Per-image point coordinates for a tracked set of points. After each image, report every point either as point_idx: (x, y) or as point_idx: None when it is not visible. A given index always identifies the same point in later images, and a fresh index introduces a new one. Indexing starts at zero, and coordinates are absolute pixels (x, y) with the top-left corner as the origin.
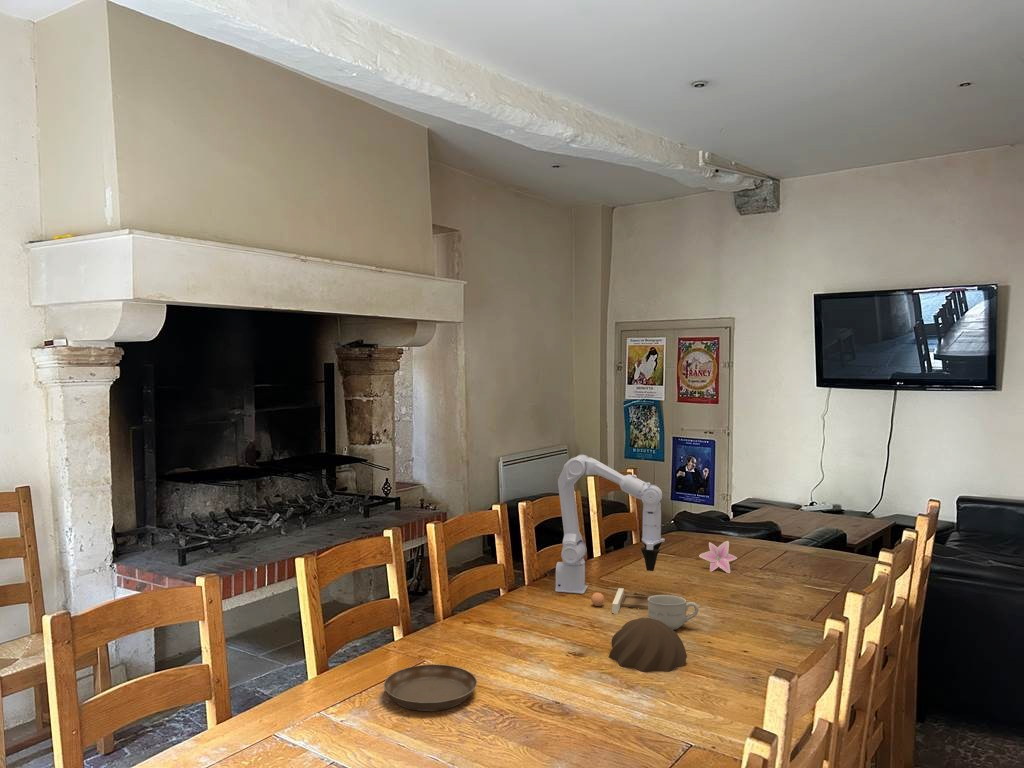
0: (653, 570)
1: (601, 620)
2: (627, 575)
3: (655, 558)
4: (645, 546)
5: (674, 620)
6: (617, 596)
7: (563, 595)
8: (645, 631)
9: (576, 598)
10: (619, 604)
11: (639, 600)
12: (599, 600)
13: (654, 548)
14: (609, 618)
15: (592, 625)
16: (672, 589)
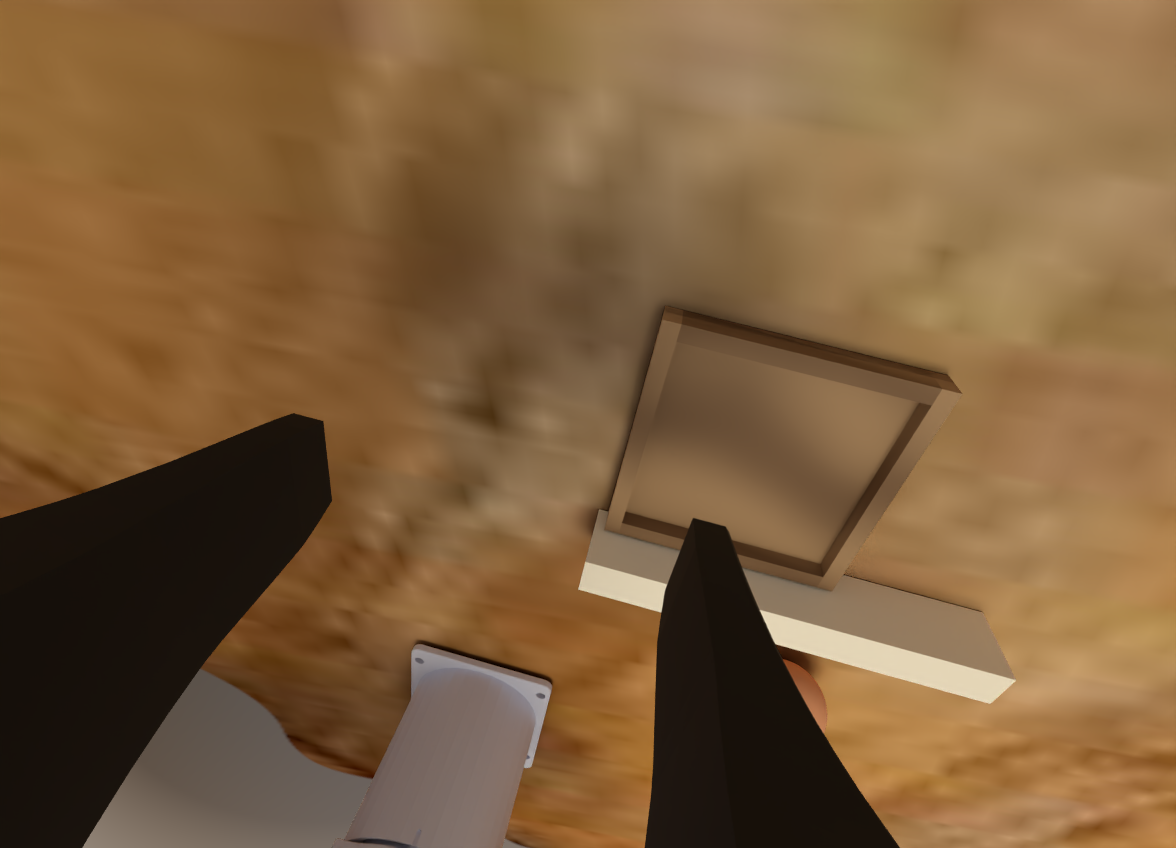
0: (729, 533)
1: (1082, 707)
2: (54, 389)
3: (845, 776)
4: (90, 828)
5: None
6: (806, 640)
7: (581, 745)
8: None
9: (628, 715)
10: (882, 612)
11: (703, 434)
12: (826, 714)
13: (45, 677)
14: (1058, 666)
15: (1162, 758)
16: (248, 25)
